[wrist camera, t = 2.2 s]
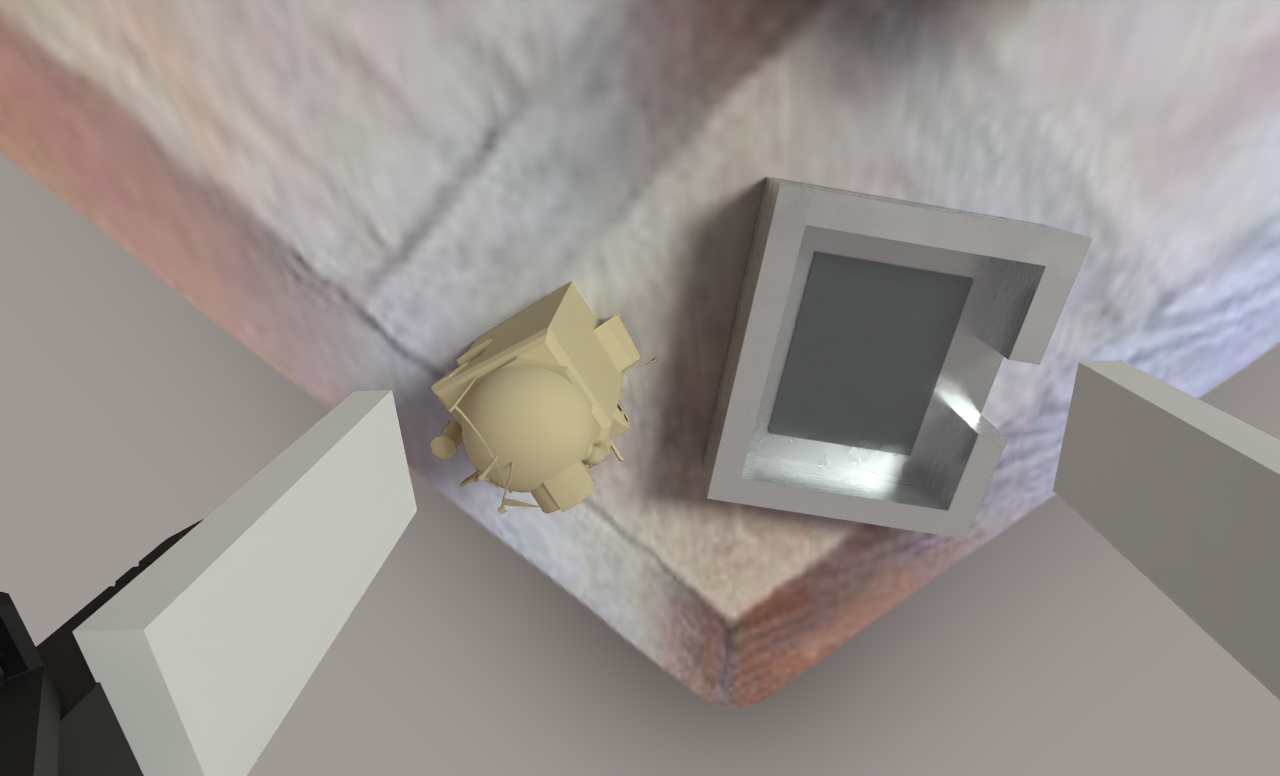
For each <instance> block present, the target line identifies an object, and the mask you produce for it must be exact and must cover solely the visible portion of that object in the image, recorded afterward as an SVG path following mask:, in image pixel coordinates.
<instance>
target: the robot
mask: <svg viewBox="0 0 1280 776" xmlns="http://www.w3.org/2000/svg"><path fill="white" fill-rule="evenodd" d="M640 358H641V357H640V355H639V353H638V351H637V349H636V347H635V345H634V343H633V341H632V340H631V338H630V336H629V334H628V332H627V330H626V328H625V326H624V325H623V323H622V321H621V319H620V317H619V315H618V314H617V315H615V316H613V317H612V318H610V319H609V320H607V321H606V322H604V323H603V324H601V325H599V323H598V322H597V320H596V318H595V317H594V315H593V314H592V312H591V310H590V309H589V307H588V306H587V304H586V302H585V301H584V299H583V298H582V296H581V294H580V293H579V291H578V290H577V288H576V286H575V285H574V283H573V282H570V283H568V284H567V285H565V286H563V287H562V288H560V289H558V290H557V291H555V292H553V293H552V294H550V295H548V296H547V297H545V298H543V299H542V300H540V301H538V302H537V303H535V304H533V305H532V306H530V307H528V308H527V309H525V310H523V311H522V312H520V313H518V314H517V315H515V316H513V317H512V318H510V319H508V320H507V321H505V322H503V323H502V324H500V325H498V326H497V327H495V328H493V329H492V330H490V331H488V332H487V333H485V334H483V335H482V336H480V337H478V338H477V339H476V340H475V342H474V343H473V344H472V346H471V347H470V349H469V350H468V351H467V353H465V354H463V355H462V356H461V357H460V358H458V359H457V360H456V361H457V363H458V365H459V367H457V368H456V369H454V370H452V371H451V372H449V373H448V374H446V375H445V376H443V378H442V379H440V380H439V381H437V382H436V383H434V384H433V386H432V387H431V388H432V391H433V392H434V394H435V395H436V396H437V398H438V399H439V400H440V401H441V402H442V404H443V405H444V406H445V407H446V409H447V410H448V411H449V412H450V414H451V415H452V416H453V417H454V418H455V420H456V421H457V422H453V423H450V421H449V422H448V423H447V425H446V426H445V428H444V429H443V431H442V434H441V435H440V436H439V437H435V438H434V439H433V441H432V442H431V443H430V447H431V451H432V454H433V455H435V456H436V457H438V458H440V459H441V460H445V459H452V458H453V456H454V455H455V454H456V452H457V449H456V448H457V446H458V445H460V444H461V443H462V441H463V444H464V447H465V450H466V452H467V455H468V457H469V458H470V460H471V462H472V463H473V465H474V466H475V468H476V469H477V470H478V471H477V470H476V471H477V472H476V473H474V474H472V475H470V476H469V477H467V478H466V479H465V480H464V481H463V482H462V483H461V484H460V486H461V487H462V486H464V485H466V484H468V483H470V482H471V481H475V482H477V481H478V480H479V479H480V481H481V480H483V479H484V480H486V481H487V482H489V483H490V484H492V485H494V486H496V487H501V488H504V489H505V493H504V496H503V500H502V505H501V507H500V508H498V511H499V513H500V514H503V513H505V512H506V509H505V508H504V507H503V505H508V506H524V507H539V506H540V507H541V509H542V511H543V512H544V513H551V512H554V511H557V510H559V509H561V511H562V512H565V511H566V510H568V509H570V508H572V507H573V506H575V505H577V504H578V503H580V502H581V501H582V500H583V499H584V498H585V497H586V496H588V495H589V494H590V492H591V490H592V489H593V487H594V485H595V484H594V483H593V478H592V477H591V475H590V473H589V472H588V469H590V468H592V467H594V466H596V465H598V464H600V463H602V462H604V461H606V460H607V459H605V460H604V461H603V459H604V457H606V456H608V455H609V452H610V448H612V449H613V451H614V453H615V455H616V456H617V458H618V459H619V461H623V458H622V457H621V456H620V454H619V452H618V450H617V449H616V447H615V445H614V443H613V442H612V440H611V439H612V438H614V437H616V436H618V435H620V434H621V433H623V432H625V431H627V430H629V429H630V425H629V418H628V415H627V414H626V412H625V410H624V409H623V407H622V405H621V404H620V401H621V400H622V399H623V397H622V396H621V395H620V392H623V386H622V382H623V378H624V374H625V371H626V370H628V368H629V369H630V368H633V366H634V367H636V365H637V366H639V364H636V365H633V366H630V367H628V368H626V367H627V366H629V365H630V364H632V363H633V362H635V361H636V360H638V359H640ZM656 361H657V360H656V359H655V358H654V361H650V362H656ZM645 363H649V362H645ZM645 363H640V365H642V364H645ZM595 464H596V465H595ZM591 465H593V466H592V467H591ZM589 466H590V468H588V467H589ZM507 490H509V491H508V492H510V493H512V491H516V492H529V491H530V492H531V493H532V495H533V497H534V498H535V500H536V501H537V503H538V504H539V506H535V505H531V504H527V503H523V502H519V501H515V500H511V499H506V498H505V495H506V492H507Z"/></svg>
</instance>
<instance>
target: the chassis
mask: <svg viewBox="0 0 1280 776" xmlns="http://www.w3.org/2000/svg"><path fill="white" fill-rule="evenodd" d="M1092 239H1093V238H1090V237H1087V236H1083V235H1079V234H1075V233H1072V232H1068V231H1064V230H1061V229H1057V228H1053V227H1049V226H1046V225H1041V224H1035V223H1030V222H1024V221H1018V220H1012V219H1007V218H1001V217H995V216H989V215H984V214H978V213H972V212H966V211H960V210H955V209H949V208H943V207H937V206H932V205H926V204H920V203H914V202H909V201H903V200H897V199H891V198H885V197H880V196H874V195H868V194H862V193H857V192H851V191H845V190H839V189H834V188H828V187H822V186H816V185H810V184H805V183H799V182H793V181H787V180H782V179H776V178H770V177H766V182H765V186H764V190H763V195H762V199H761V204H760V208H759V213H758V217H757V222H756V226H755V230H754V235H753V239H752V244H751V248H750V253H749V257H748V262H747V266H746V270H745V275H744V279H743V284H742V288H741V293H740V297H739V302H738V306H737V310H736V315H735V319H734V324H733V328H732V333H731V337H730V342H729V346H728V350H727V355H726V359H725V364H724V368H723V373H722V377H721V382H720V386H719V390H718V395H717V399H716V404H715V408H714V413H713V417H712V421H711V426H710V430H709V435H708V439H707V444H706V448H705V453H704V457H703V461H702V462H703V470H704V479H705V487H706V495H707V499H713V500H720V501H726V502H733V503H739V504H746V505H752V506H758V507H765V508H771V509H778V510H784V511H790V512H797V513H803V514H810V515H816V516H822V517H829V518H835V519H842V520H848V521H854V522H861V523H867V524H874V525H880V526H886V527H893V528H899V529H906V530H912V531H918V532H925V533H931V534H938V535H944V536H950V537H957V538H963V539H966V538H967V535H968V533H969V531H970V528H971V526H972V524H973V521H974V519H975V516H976V514H977V512H978V509H979V507H980V505H981V502H982V500H983V497H984V495H985V493H986V490H987V488H988V486H989V483H990V481H991V478H992V476H993V474H994V471H995V469H996V467H997V464H998V462H999V459H1000V457H1001V455H1002V452H1003V450H1004V448H1005V445H1006V443H1007V440H1008V439H1007V438H1006V437H1005V436H1004V435H1003V434H1002V433H1001V432H1000V431H998V430H997V429H996V428H995V427H994V426H993V425H992V424H991V423H990V422H989V421H988V420H986V419H985V418H984V417H983V416H982V415H981V412H982V410H983V407H984V405H985V402H986V399H987V397H988V394H989V392H990V389H991V387H992V384H993V382H994V379H995V377H996V374H997V372H998V369H999V367H1000V364H1001V362H1002V359H1003V357H1006V358H1007V359H1009V360H1014V361H1020V362H1027V363H1033V364H1040V362H1041V360H1042V357H1043V355H1044V353H1045V350H1046V348H1047V345H1048V343H1049V341H1050V338H1051V336H1052V334H1053V331H1054V329H1055V326H1056V324H1057V322H1058V319H1059V317H1060V315H1061V312H1062V310H1063V307H1064V305H1065V303H1066V300H1067V298H1068V296H1069V293H1070V291H1071V288H1072V286H1073V284H1074V281H1075V279H1076V277H1077V274H1078V272H1079V269H1080V267H1081V265H1082V262H1083V260H1084V258H1085V255H1086V253H1087V250H1088V248H1089V246H1090V243H1091V241H1092Z"/></svg>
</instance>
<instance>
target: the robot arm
mask: <svg viewBox="0 0 1280 776" xmlns="http://www.w3.org/2000/svg"><path fill="white" fill-rule="evenodd" d="M1053 491H1054V492H1055V493H1056V494H1057V495H1058V496H1059V497H1060V498H1062V499H1063V500H1064V501H1065V502H1066V503H1067V504H1068V505H1069V506H1070V507H1071V508H1072V509H1073V510H1075V511H1076V512H1077V513H1078V514H1079V515H1080V516H1081V517H1082V518H1083V519H1084V520H1085V521H1086V522H1088V523H1089V524H1090V525H1091V526H1092V527H1093V528H1094V529H1095V530H1096V531H1097V532H1098V533H1099V534H1101V535H1102V536H1103V537H1104V538H1105V539H1106V540H1107V541H1108V542H1109V543H1110V544H1111V545H1112V546H1113V547H1115V548H1116V549H1117V550H1118V551H1119V552H1120V553H1121V554H1122V555H1123V556H1124V557H1126V559H1128V560H1129V561H1130V562H1131V563H1132V564H1133V565H1134V566H1135V567H1136V568H1137V569H1138V570H1139V571H1140V572H1142V573H1143V574H1144V575H1145V576H1146V577H1147V578H1148V579H1149V580H1150V581H1151V582H1152V583H1153V584H1155V585H1156V586H1157V587H1158V588H1159V589H1160V590H1161V591H1162V592H1163V593H1164V594H1165V595H1166V596H1168V597H1169V598H1170V599H1171V600H1172V601H1173V602H1174V603H1175V604H1176V605H1177V606H1178V607H1179V608H1180V609H1182V610H1183V611H1184V612H1185V613H1186V614H1187V615H1188V616H1189V617H1190V618H1191V619H1192V620H1193V621H1195V622H1196V623H1197V624H1198V625H1199V626H1200V627H1201V628H1202V629H1203V630H1205V632H1206V633H1208V634H1209V635H1210V636H1211V637H1212V638H1213V639H1214V640H1215V641H1216V642H1217V643H1218V644H1220V646H1222V647H1223V648H1224V649H1225V650H1226V651H1227V652H1228V653H1229V654H1230V655H1232V657H1233V658H1235V659H1236V660H1237V661H1238V662H1239V663H1240V664H1241V665H1242V666H1243V667H1244V668H1245V669H1246V670H1248V671H1249V672H1250V673H1251V674H1252V675H1253V676H1254V677H1255V678H1256V679H1257V680H1258V681H1259V682H1260V683H1262V684H1263V685H1264V686H1265V687H1266V688H1267V689H1268V690H1269V691H1270V692H1271V693H1272V694H1274V695H1275V696H1276V697H1277V698H1278V699H1279V700H1280V440H1278V439H1276V438H1274V437H1272V436H1270V435H1268V434H1266V433H1264V432H1262V431H1260V430H1258V429H1256V428H1254V427H1252V426H1250V425H1248V424H1246V423H1244V422H1242V421H1240V420H1238V419H1236V418H1234V417H1233V416H1230V415H1229V414H1227V413H1224V412H1223V411H1221V410H1218V409H1217V408H1215V407H1212V406H1211V405H1209V404H1207V403H1205V402H1203V401H1201V400H1199V399H1197V398H1195V397H1193V396H1191V395H1189V394H1187V393H1185V392H1183V391H1181V390H1179V389H1177V388H1175V387H1173V386H1171V385H1169V384H1167V383H1165V382H1163V381H1161V380H1159V379H1157V378H1155V377H1153V376H1151V375H1149V374H1147V373H1145V372H1143V371H1141V370H1139V369H1137V368H1135V367H1133V366H1131V365H1129V364H1127V363H1125V362H1123V361H1121V360H1120V361H1095V362H1079V364H1078V369H1077V374H1076V379H1075V384H1074V389H1073V394H1072V399H1071V404H1070V409H1069V414H1068V419H1067V424H1066V428H1065V433H1064V438H1063V443H1062V448H1061V453H1060V458H1059V463H1058V468H1057V473H1056V478H1055V483H1054V488H1053ZM416 511H417V508H416V503H415V498H414V493H413V488H412V483H411V479H410V474H409V469H408V464H407V460H406V455H405V450H404V445H403V440H402V436H401V431H400V426H399V421H398V417H397V412H396V407H395V402H394V397H393V393H392V390H377V391H354V392H353V393H352V394H350V395H349V396H348V397H347V398H346V399H345V400H343V401H342V402H341V403H340V404H339V405H337V406H336V407H335V408H334V409H333V410H332V411H330V412H329V413H328V414H327V415H326V416H325V417H323V418H322V419H321V420H320V421H319V422H318V423H316V424H315V425H314V426H313V427H312V428H311V429H309V430H308V431H307V432H306V433H305V434H303V435H302V436H301V437H300V438H299V439H298V440H297V441H295V442H294V443H293V444H292V445H291V446H289V447H288V448H287V449H286V450H285V451H284V452H282V453H281V454H280V455H279V456H278V457H276V458H275V459H274V460H273V461H272V462H271V463H270V464H268V465H267V466H266V467H265V468H264V469H262V470H261V471H260V472H259V473H258V474H257V475H255V476H254V477H253V478H252V479H251V480H250V481H248V482H247V483H246V484H245V485H244V486H242V487H241V488H240V489H239V490H238V491H237V492H235V493H234V494H233V495H232V496H231V497H230V498H228V499H227V500H226V501H225V502H224V503H223V504H221V505H220V506H219V507H218V508H217V509H216V510H214V511H213V512H212V513H211V514H210V515H209V516H207V517H206V518H205V519H203V520H201V521H199V522H197V523H195V524H193V525H192V526H190V527H188V528H186V529H184V530H182V531H181V532H179V533H177V534H175V535H173V536H171V537H170V538H168V539H166V540H165V541H164V542H162V543H161V544H160V545H159V546H158V547H156V548H155V549H154V550H153V551H152V552H150V553H149V554H148V555H147V556H146V557H144V558H143V559H142V560H141V561H140V562H139V566H138V567H132V568H131V569H130V570H129V571H127V572H126V573H125V574H124V575H123V576H122V577H120V578H119V579H118V580H117V581H116V584H115V586H109V587H108V588H107V589H106V590H105V591H103V592H102V593H101V594H100V595H99V596H97V597H96V598H95V599H94V600H92V601H91V602H90V603H89V604H88V605H86V606H85V607H84V608H83V609H82V610H80V611H79V612H78V613H77V614H76V615H74V616H73V617H72V618H71V619H69V620H68V621H67V622H66V623H65V624H63V625H62V626H61V627H60V628H59V629H57V630H56V631H55V632H54V633H53V634H51V635H50V636H49V637H48V638H47V639H45V640H44V641H43V642H42V643H41V644H39V645H38V646H37V647H35V645H34V643H33V641H32V639H31V637H30V635H29V633H28V631H27V629H26V627H25V625H24V623H23V621H22V619H21V617H20V616H19V613H18V611H17V609H16V607H15V605H14V603H13V601H12V600H11V597H10V595H9V594H8V593H3V592H0V776H247V775H248V773H249V772H250V770H251V768H252V767H253V765H254V764H255V762H256V760H257V759H258V758H259V756H260V754H261V753H262V751H263V750H264V748H265V747H266V745H267V743H268V742H269V740H270V739H271V737H272V736H273V734H274V732H275V731H276V729H277V728H278V726H279V725H280V723H281V722H282V720H283V718H284V717H285V715H286V714H287V712H288V711H289V709H290V708H291V706H292V705H293V703H294V701H295V700H296V698H297V696H298V695H299V694H300V692H301V691H302V689H303V687H304V686H305V684H306V683H307V681H308V680H309V678H310V676H311V675H312V673H313V672H314V670H315V669H316V667H317V666H318V664H319V662H320V661H321V659H322V658H323V656H324V655H325V653H326V652H327V650H328V648H329V647H330V645H331V644H332V642H333V641H334V639H335V638H336V636H337V634H338V633H339V631H340V630H341V628H342V627H343V625H344V623H345V622H346V620H347V619H348V617H349V616H350V614H351V613H352V611H353V609H354V608H355V606H356V605H357V603H358V602H359V600H360V598H361V597H362V595H363V594H364V592H365V590H366V589H367V588H368V586H369V584H370V583H371V581H372V580H373V578H374V577H375V575H376V574H377V572H378V571H379V569H380V567H381V565H382V564H383V563H384V561H385V560H386V558H387V556H388V555H389V553H390V552H391V550H392V549H393V547H394V545H395V544H396V542H397V541H398V539H399V538H400V536H401V534H402V533H403V532H404V530H405V528H406V527H407V525H408V524H409V522H410V521H411V519H412V518H413V516H414V514H415V512H416Z"/></svg>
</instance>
